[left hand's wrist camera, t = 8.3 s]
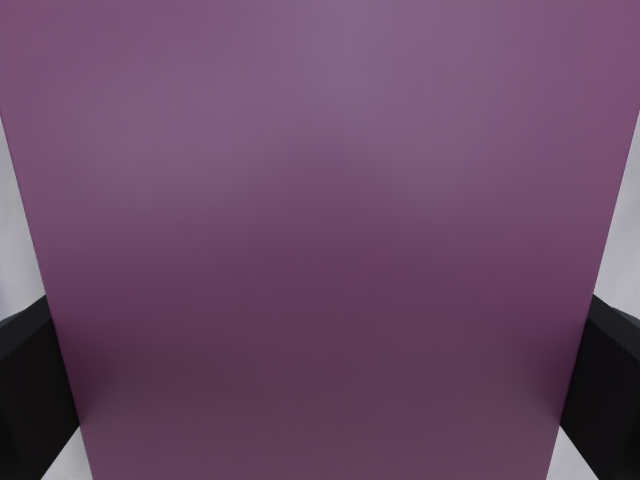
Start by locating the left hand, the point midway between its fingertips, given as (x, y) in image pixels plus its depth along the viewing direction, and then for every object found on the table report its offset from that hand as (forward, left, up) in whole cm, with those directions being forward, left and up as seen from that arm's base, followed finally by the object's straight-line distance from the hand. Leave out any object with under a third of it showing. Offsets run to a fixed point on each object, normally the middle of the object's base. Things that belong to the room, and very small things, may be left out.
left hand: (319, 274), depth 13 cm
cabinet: (0, +6, -6) cm, 9 cm away
